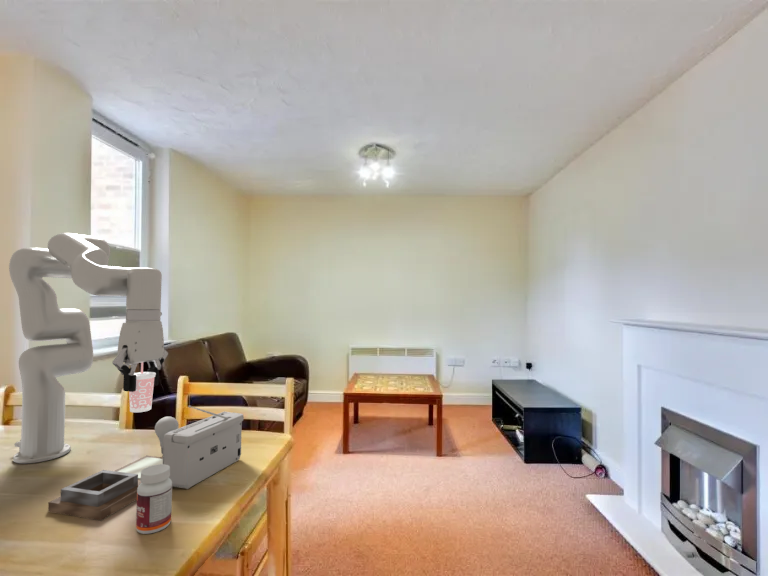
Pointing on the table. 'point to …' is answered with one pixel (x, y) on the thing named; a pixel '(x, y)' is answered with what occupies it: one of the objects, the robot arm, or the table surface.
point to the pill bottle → (154, 499)
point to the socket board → (102, 491)
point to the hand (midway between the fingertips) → (141, 387)
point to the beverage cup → (142, 391)
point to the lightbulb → (165, 428)
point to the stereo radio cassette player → (202, 448)
